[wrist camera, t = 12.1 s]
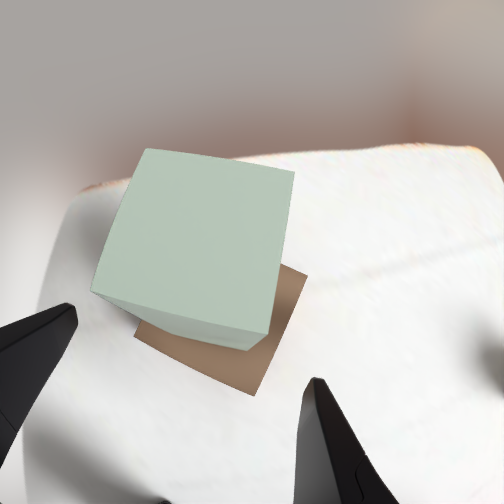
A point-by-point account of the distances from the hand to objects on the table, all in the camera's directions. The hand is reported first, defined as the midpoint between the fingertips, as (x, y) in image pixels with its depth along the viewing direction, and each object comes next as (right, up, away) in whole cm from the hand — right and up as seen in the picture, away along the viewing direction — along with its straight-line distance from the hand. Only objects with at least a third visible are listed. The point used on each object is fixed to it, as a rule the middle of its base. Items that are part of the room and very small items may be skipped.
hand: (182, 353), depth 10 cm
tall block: (0, 0, +10) cm, 10 cm away
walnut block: (0, -1, +14) cm, 14 cm away
